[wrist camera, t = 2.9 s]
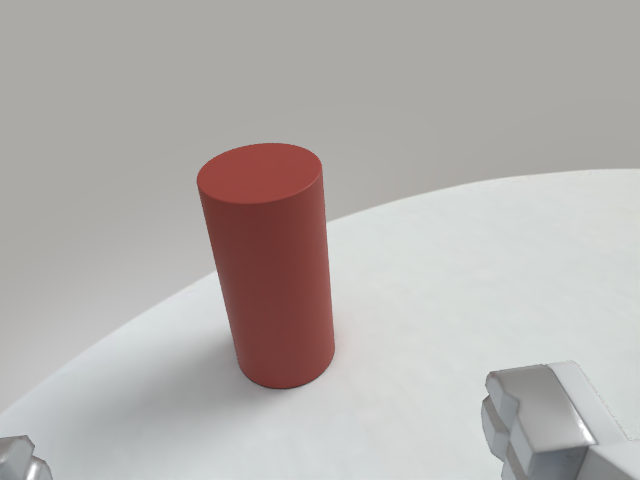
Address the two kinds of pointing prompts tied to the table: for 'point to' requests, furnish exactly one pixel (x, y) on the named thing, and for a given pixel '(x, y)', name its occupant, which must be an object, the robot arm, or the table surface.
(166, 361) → the table surface
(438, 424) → the table surface
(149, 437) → the table surface
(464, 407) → the table surface
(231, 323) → the red canister
